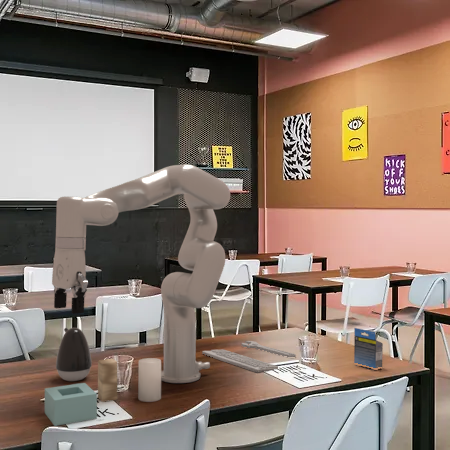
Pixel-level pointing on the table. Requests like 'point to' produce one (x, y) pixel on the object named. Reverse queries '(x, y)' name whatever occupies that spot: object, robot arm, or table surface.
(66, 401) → the bore block
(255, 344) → the adjustable wrench
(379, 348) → the label tape cartridge
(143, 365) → the white pillar candle
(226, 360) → the keyboard
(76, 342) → the dark brown egg shape
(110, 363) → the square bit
